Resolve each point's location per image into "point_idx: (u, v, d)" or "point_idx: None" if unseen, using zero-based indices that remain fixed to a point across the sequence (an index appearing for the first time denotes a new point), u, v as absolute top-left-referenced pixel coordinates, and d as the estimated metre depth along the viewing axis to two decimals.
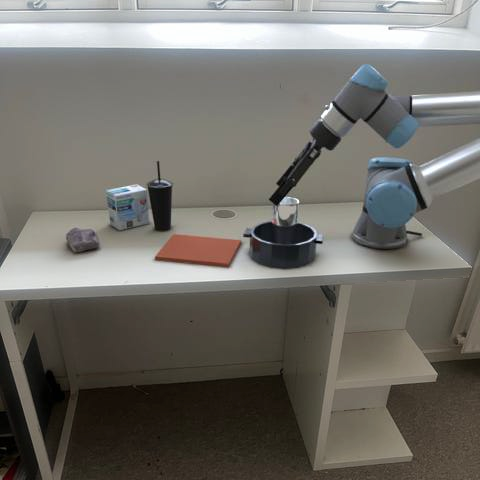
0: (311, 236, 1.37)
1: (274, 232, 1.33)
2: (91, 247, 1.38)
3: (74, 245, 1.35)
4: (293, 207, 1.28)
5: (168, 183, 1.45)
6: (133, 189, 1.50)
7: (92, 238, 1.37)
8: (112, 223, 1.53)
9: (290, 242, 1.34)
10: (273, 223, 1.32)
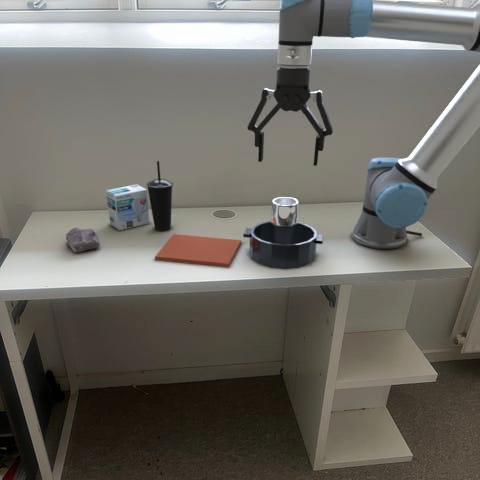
0: (311, 236, 1.37)
1: (274, 233, 1.33)
2: (91, 247, 1.38)
3: (74, 245, 1.35)
4: (292, 208, 1.28)
5: (168, 183, 1.45)
6: (133, 189, 1.50)
7: (92, 238, 1.37)
8: (112, 223, 1.53)
9: (290, 242, 1.34)
10: (272, 224, 1.31)
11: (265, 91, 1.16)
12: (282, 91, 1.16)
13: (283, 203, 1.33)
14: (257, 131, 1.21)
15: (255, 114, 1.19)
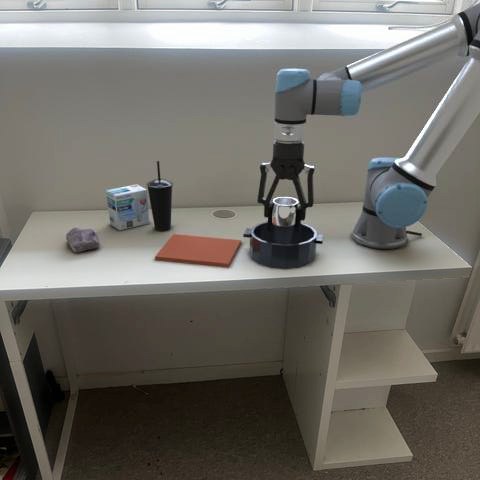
0: (311, 236, 1.37)
1: (273, 233, 1.33)
2: (91, 247, 1.38)
3: (74, 245, 1.35)
4: (292, 208, 1.28)
5: (168, 183, 1.45)
6: (133, 189, 1.50)
7: (92, 238, 1.37)
8: (112, 223, 1.53)
9: (290, 242, 1.34)
10: (272, 224, 1.31)
11: (262, 166, 1.25)
12: (278, 162, 1.24)
13: (283, 203, 1.33)
14: (266, 204, 1.30)
15: (260, 188, 1.28)
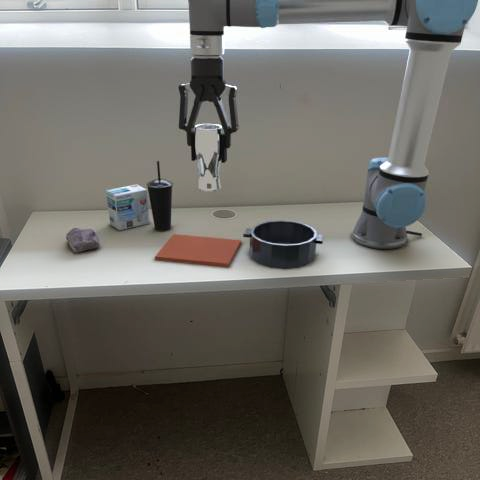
0: (311, 236, 1.37)
1: (197, 162, 1.25)
2: (91, 247, 1.38)
3: (74, 245, 1.35)
4: (214, 133, 1.19)
5: (168, 183, 1.45)
6: (133, 189, 1.50)
7: (92, 238, 1.37)
8: (112, 223, 1.53)
9: (215, 173, 1.25)
10: (195, 152, 1.23)
11: (181, 86, 1.17)
12: (197, 81, 1.16)
13: None
14: (188, 130, 1.22)
15: (181, 112, 1.20)
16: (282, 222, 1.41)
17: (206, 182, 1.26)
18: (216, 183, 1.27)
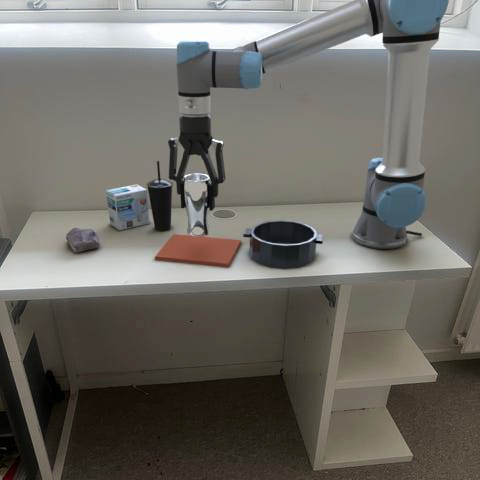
0: (311, 236, 1.37)
1: (187, 210, 1.31)
2: (91, 247, 1.38)
3: (74, 245, 1.35)
4: (202, 184, 1.26)
5: (168, 183, 1.45)
6: (133, 189, 1.50)
7: (92, 238, 1.37)
8: (112, 223, 1.53)
9: (204, 220, 1.32)
10: (185, 201, 1.30)
11: (170, 141, 1.24)
12: (186, 137, 1.23)
13: (197, 180, 1.32)
14: (178, 180, 1.28)
15: (170, 164, 1.27)
16: (282, 222, 1.41)
17: (195, 228, 1.33)
18: (204, 229, 1.33)
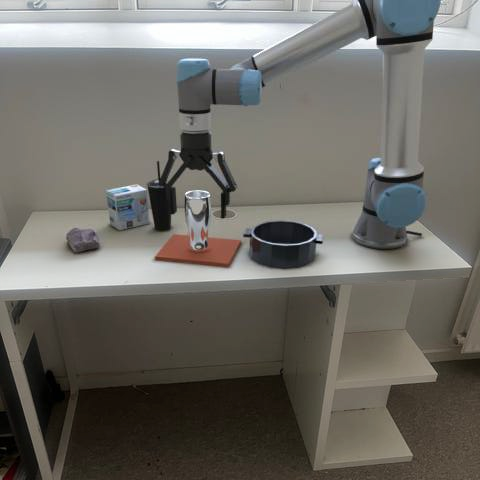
0: (311, 236, 1.37)
1: (188, 226, 1.34)
2: (91, 247, 1.38)
3: (74, 245, 1.35)
4: (203, 201, 1.29)
5: None
6: (133, 189, 1.50)
7: (92, 238, 1.37)
8: (112, 223, 1.53)
9: (204, 236, 1.34)
10: (186, 217, 1.32)
11: (171, 152, 1.25)
12: (186, 152, 1.25)
13: (198, 196, 1.34)
14: (167, 187, 1.30)
15: (164, 172, 1.28)
16: (282, 222, 1.41)
17: (196, 243, 1.35)
18: (205, 244, 1.36)
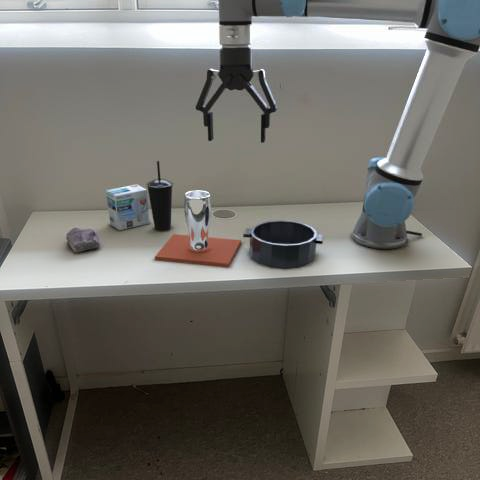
0: (311, 236, 1.37)
1: (188, 226, 1.34)
2: (91, 247, 1.38)
3: (74, 245, 1.35)
4: (203, 201, 1.29)
5: (168, 183, 1.45)
6: (133, 189, 1.50)
7: (92, 238, 1.37)
8: (112, 223, 1.53)
9: (204, 236, 1.34)
10: (186, 217, 1.32)
11: (210, 71, 1.21)
12: (226, 71, 1.20)
13: (198, 196, 1.34)
14: (205, 111, 1.26)
15: (202, 94, 1.24)
16: (282, 222, 1.41)
17: (196, 243, 1.35)
18: (205, 244, 1.36)
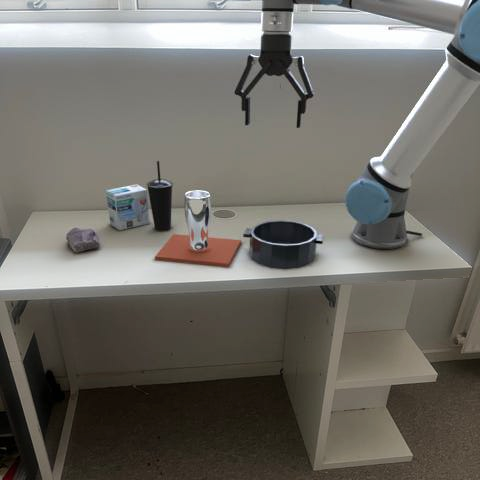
0: (311, 236, 1.37)
1: (188, 226, 1.34)
2: (91, 247, 1.38)
3: (74, 245, 1.35)
4: (203, 201, 1.29)
5: (168, 183, 1.45)
6: (133, 189, 1.50)
7: (92, 238, 1.37)
8: (112, 223, 1.53)
9: (204, 236, 1.34)
10: (186, 217, 1.32)
11: (250, 57, 1.25)
12: (266, 56, 1.24)
13: (198, 196, 1.34)
14: (243, 95, 1.30)
15: (241, 79, 1.28)
16: (282, 222, 1.41)
17: (196, 243, 1.35)
18: (205, 244, 1.36)
